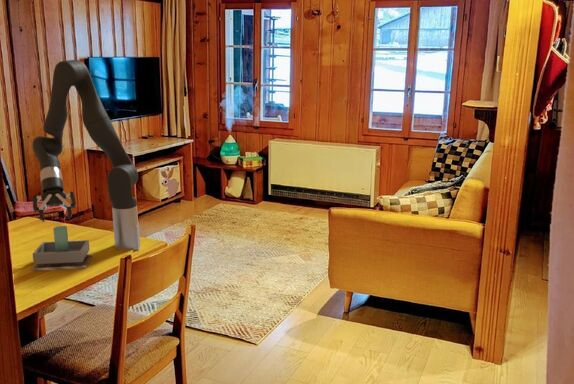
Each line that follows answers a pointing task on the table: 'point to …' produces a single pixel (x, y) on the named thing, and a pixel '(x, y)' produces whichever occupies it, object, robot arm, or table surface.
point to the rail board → (64, 265)
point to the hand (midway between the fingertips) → (56, 219)
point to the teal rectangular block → (61, 239)
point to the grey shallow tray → (61, 253)
